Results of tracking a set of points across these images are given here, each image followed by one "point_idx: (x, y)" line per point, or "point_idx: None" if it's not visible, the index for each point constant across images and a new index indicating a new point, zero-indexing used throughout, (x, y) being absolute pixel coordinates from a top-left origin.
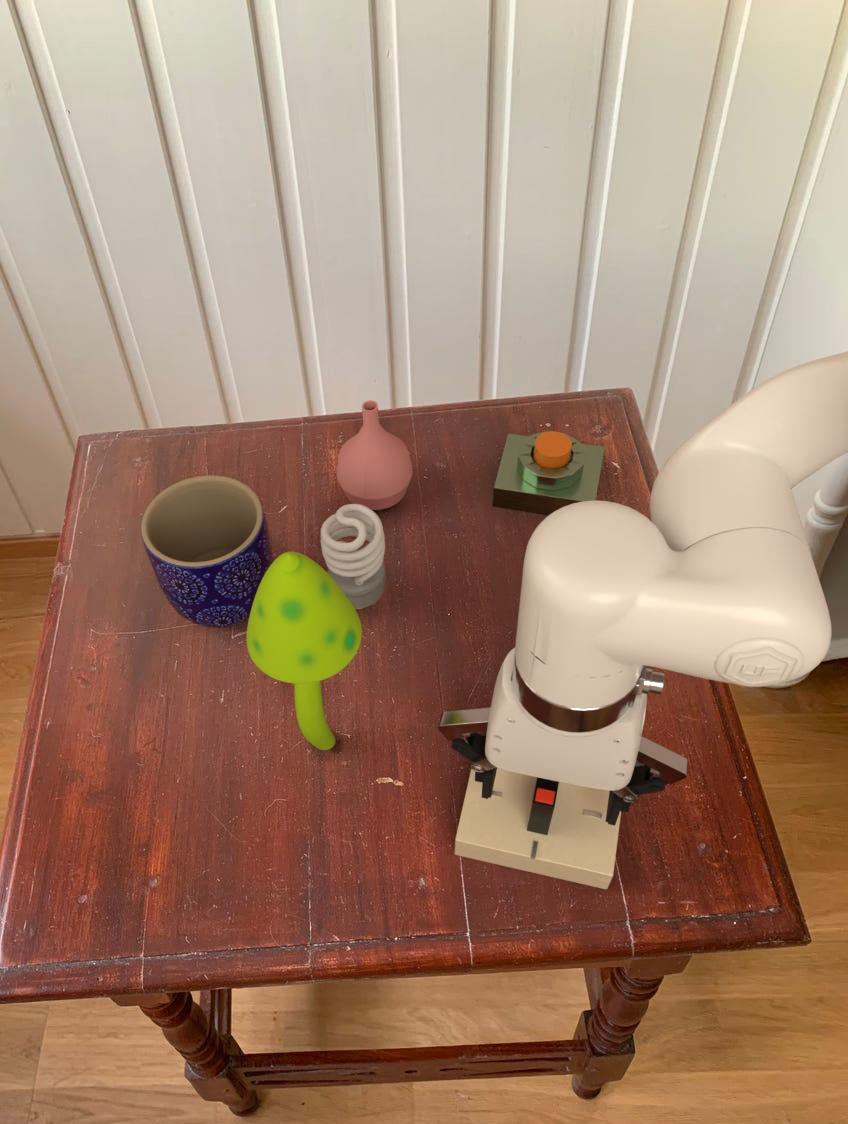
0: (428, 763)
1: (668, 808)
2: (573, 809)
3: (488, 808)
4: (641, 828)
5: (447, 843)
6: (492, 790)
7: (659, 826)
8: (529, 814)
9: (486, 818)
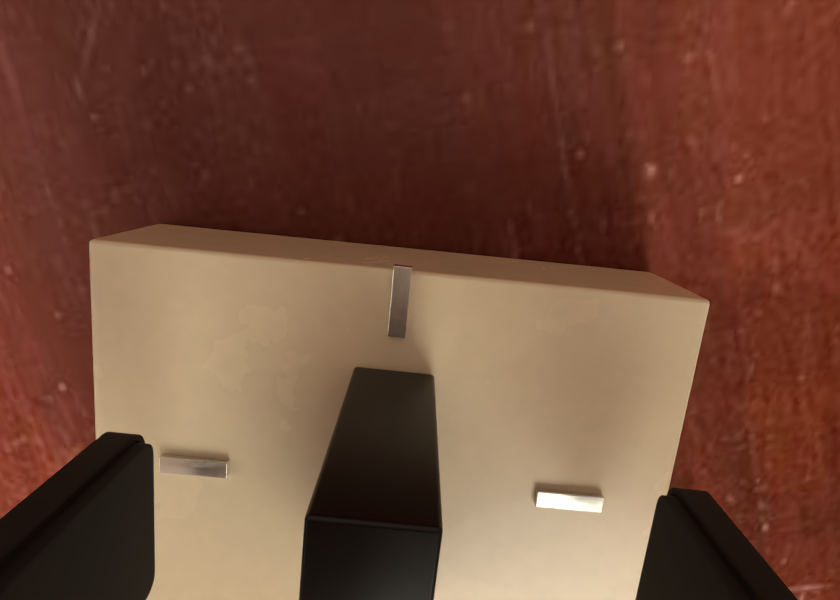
0: (3, 269)
1: (800, 326)
2: (498, 484)
3: (189, 520)
4: (705, 402)
5: None
6: (151, 557)
7: (762, 389)
8: None
9: (191, 552)
